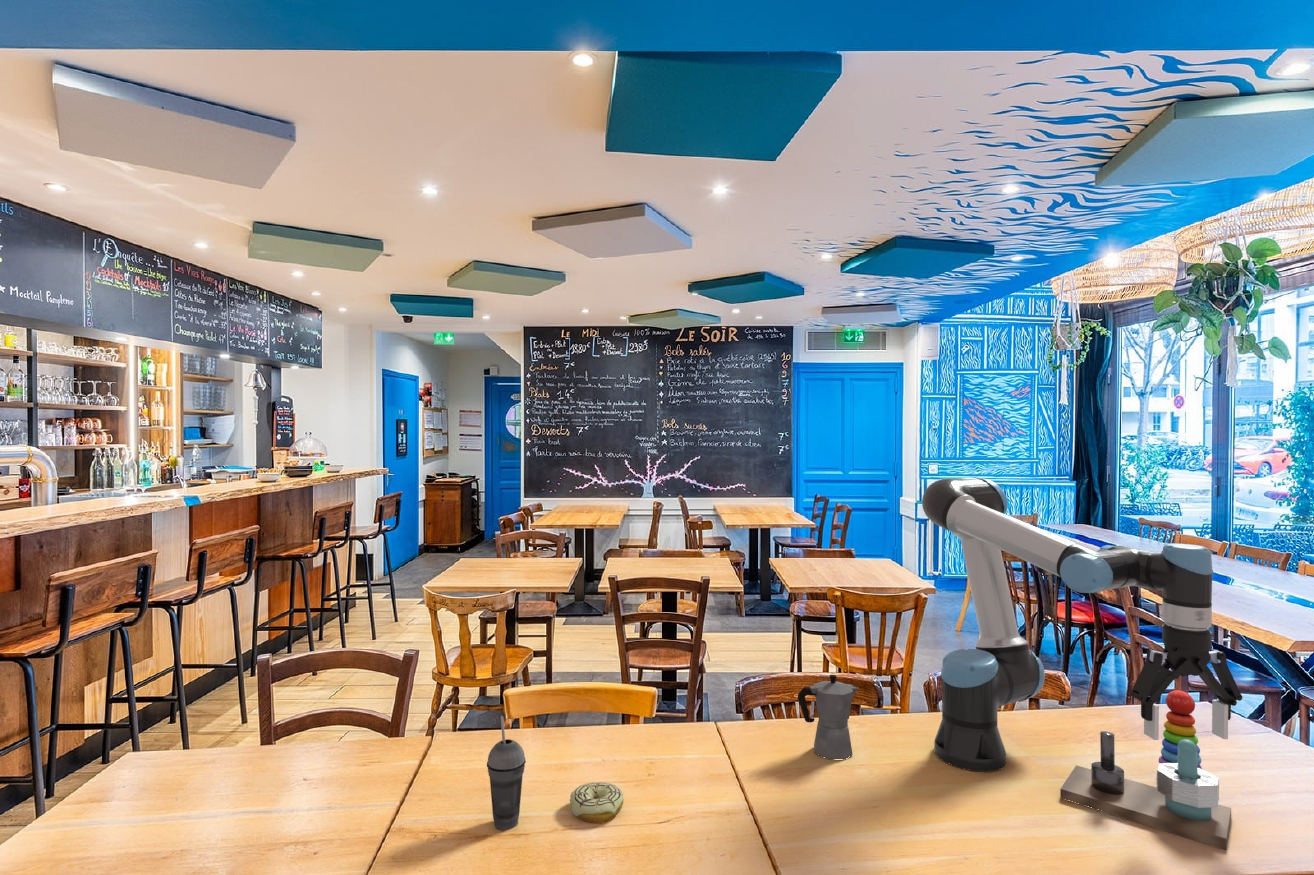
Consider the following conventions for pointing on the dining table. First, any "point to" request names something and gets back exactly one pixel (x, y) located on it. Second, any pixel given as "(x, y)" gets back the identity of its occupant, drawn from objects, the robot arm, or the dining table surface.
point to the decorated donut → (596, 802)
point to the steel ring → (1188, 786)
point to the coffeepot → (830, 717)
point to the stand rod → (1107, 768)
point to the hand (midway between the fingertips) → (1185, 736)
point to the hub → (1189, 770)
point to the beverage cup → (506, 781)
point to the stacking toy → (1178, 726)
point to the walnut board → (1147, 808)
